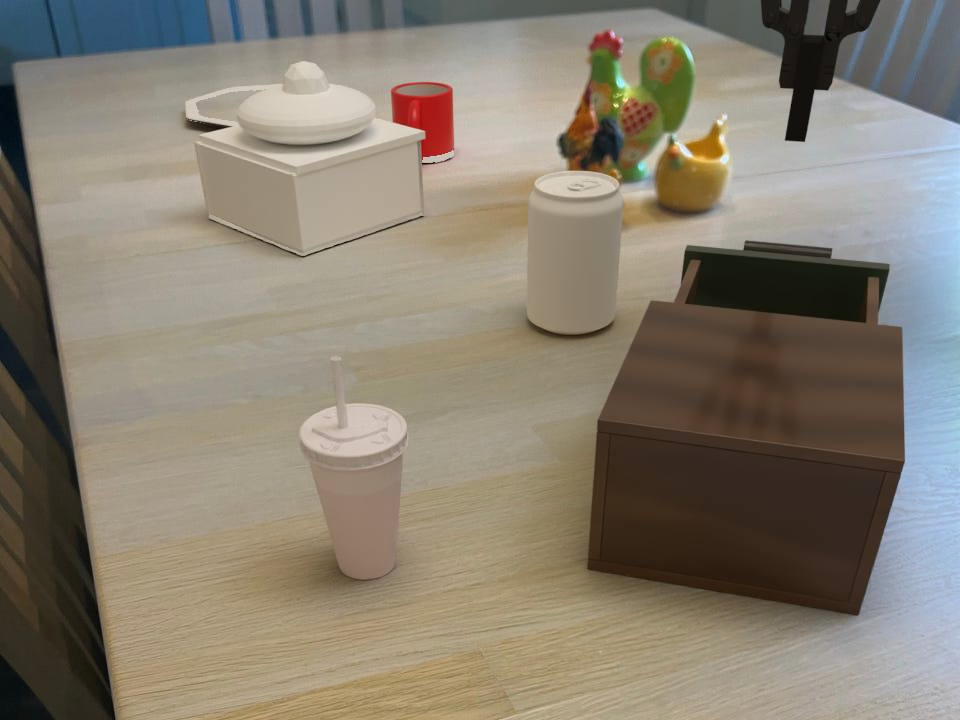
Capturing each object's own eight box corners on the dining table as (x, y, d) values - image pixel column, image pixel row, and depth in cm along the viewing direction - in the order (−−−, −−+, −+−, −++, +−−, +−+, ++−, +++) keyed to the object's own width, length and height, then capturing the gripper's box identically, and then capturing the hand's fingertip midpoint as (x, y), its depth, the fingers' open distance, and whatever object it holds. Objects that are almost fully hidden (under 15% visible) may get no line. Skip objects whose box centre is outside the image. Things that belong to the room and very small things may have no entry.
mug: (386, 173, 127) (381, 104, 122) (399, 146, 136) (395, 81, 131) (448, 174, 127) (446, 105, 122) (457, 147, 136) (455, 81, 131)
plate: (277, 144, 138) (276, 132, 137) (152, 122, 147) (150, 111, 146) (379, 106, 153) (379, 95, 152) (260, 88, 162) (259, 77, 161)
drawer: (684, 322, 90) (696, 220, 85) (864, 341, 87) (890, 237, 81) (639, 443, 74) (651, 328, 69) (857, 473, 71) (889, 355, 65)
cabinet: (637, 435, 77) (650, 299, 70) (864, 467, 73) (902, 326, 66) (586, 569, 64) (597, 419, 57) (858, 615, 60) (905, 460, 53)
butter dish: (208, 219, 115) (179, 62, 105) (331, 183, 125) (316, 35, 114) (303, 257, 106) (281, 88, 95) (428, 215, 115) (421, 57, 105)
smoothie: (320, 536, 67) (291, 335, 58) (416, 531, 68) (403, 331, 58) (314, 595, 63) (283, 387, 53) (418, 590, 63) (404, 382, 54)
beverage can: (508, 319, 93) (509, 182, 86) (571, 295, 97) (577, 163, 89) (569, 347, 89) (575, 205, 81) (633, 321, 93) (645, 184, 85)
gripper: (979, -285, 63) (885, 128, 78) (765, -279, 66) (715, 118, 81) (988, -289, 57) (885, 156, 73) (754, -282, 60) (703, 144, 76)
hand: (795, 136), depth 77 cm, fingers closed
